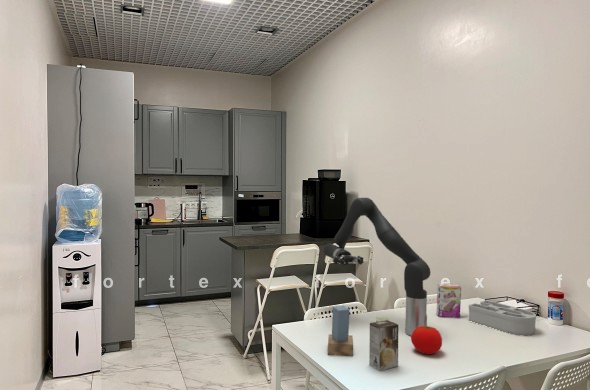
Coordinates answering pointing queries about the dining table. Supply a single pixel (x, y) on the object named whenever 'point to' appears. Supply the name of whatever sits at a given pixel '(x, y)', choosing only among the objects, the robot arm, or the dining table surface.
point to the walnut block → (340, 346)
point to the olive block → (381, 319)
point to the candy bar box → (448, 300)
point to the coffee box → (383, 345)
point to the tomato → (426, 339)
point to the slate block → (340, 323)
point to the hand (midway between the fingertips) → (352, 262)
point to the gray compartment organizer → (503, 317)
